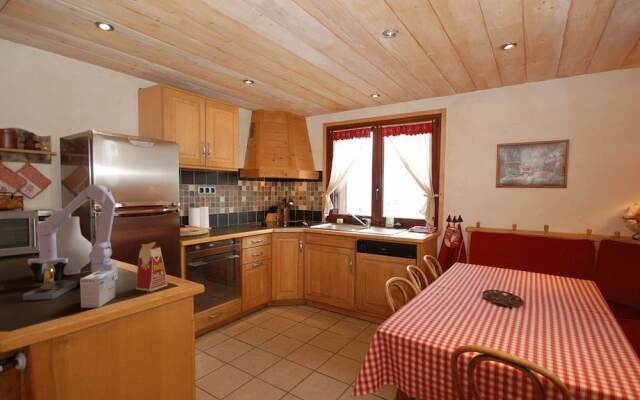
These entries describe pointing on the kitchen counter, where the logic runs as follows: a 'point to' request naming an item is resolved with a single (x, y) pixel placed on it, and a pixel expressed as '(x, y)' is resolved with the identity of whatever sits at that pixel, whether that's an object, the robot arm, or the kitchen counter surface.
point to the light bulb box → (97, 288)
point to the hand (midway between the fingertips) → (48, 279)
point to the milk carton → (150, 268)
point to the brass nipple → (48, 275)
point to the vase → (73, 247)
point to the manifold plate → (49, 290)
